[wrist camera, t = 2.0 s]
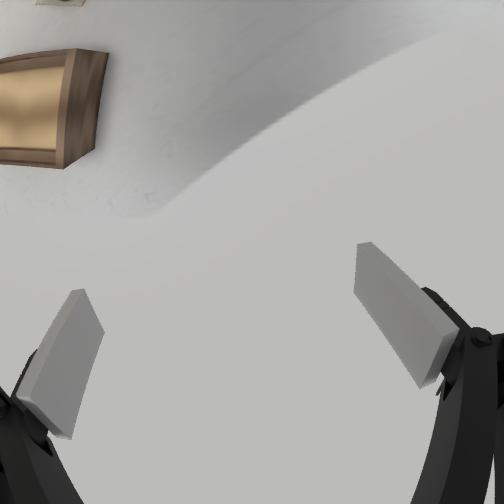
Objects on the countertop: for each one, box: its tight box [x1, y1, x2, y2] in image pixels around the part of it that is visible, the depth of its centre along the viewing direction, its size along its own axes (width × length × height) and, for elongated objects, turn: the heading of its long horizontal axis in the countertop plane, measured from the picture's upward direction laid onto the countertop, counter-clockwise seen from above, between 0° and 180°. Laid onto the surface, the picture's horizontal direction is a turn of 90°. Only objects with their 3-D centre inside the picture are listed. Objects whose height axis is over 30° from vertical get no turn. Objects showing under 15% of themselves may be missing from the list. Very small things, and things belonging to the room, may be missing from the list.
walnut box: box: [0, 49, 109, 169], centre depth 21 cm, size 12×18×8 cm, turn 75°
